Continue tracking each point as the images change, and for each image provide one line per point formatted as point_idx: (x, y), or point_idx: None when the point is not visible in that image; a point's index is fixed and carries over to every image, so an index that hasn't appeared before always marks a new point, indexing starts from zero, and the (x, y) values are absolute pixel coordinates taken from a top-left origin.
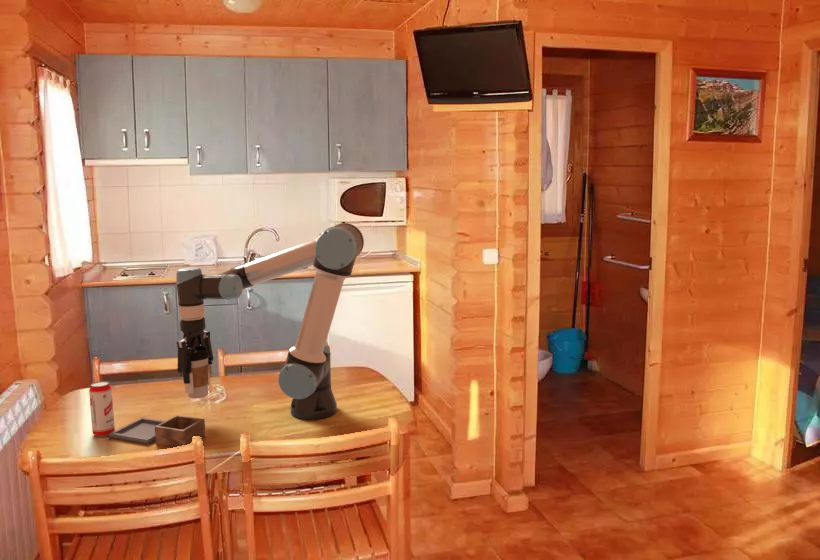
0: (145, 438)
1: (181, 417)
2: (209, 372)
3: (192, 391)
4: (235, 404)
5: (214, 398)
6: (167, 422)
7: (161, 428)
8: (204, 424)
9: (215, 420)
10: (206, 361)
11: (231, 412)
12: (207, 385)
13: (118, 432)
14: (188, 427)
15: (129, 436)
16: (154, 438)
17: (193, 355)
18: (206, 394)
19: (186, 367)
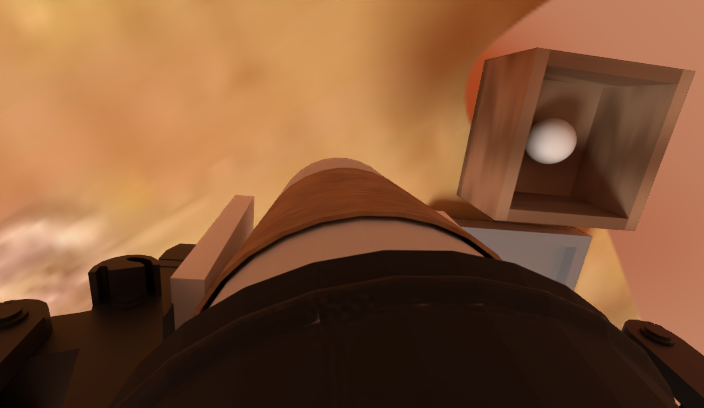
0: (579, 251)
1: (512, 185)
2: (173, 247)
3: (448, 216)
4: (71, 135)
5: (51, 268)
6: (571, 212)
7: (645, 194)
8: (521, 52)
9: (293, 123)
10: (377, 242)
11: (177, 100)
12: (326, 169)
13: None
14: (650, 70)
15: None
16: (553, 230)
17: None
18: (341, 159)
19: (676, 368)
